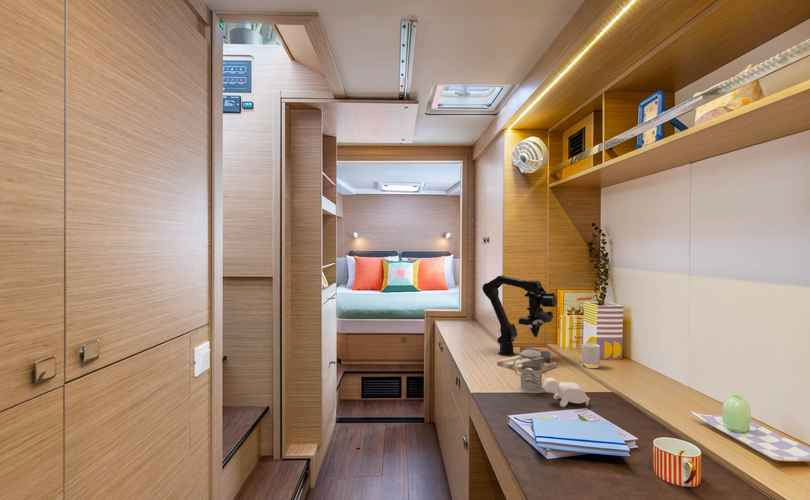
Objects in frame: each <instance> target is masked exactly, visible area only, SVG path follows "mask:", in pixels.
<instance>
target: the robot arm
mask: <svg viewBox="0 0 810 500" xmlns="http://www.w3.org/2000/svg"><path fill="white" fill-rule="evenodd" d="M503 284H504V285H508V286H510V287H511V286H512V287H516V288H520V289H523V290H524V291H526V293H525V294H524V295H523V296H524V297H527V298H528V307H526V310H527V311H528V315H527V316H526V317H519V318H518V324H519V325H524V326H528V325H532V328H529V330H530V332H531V333H532V335H533V337H534V338H537V337H538V335H539V333H540V332H539V331H540V328H541V327H542V326H543V325H545V324H546V323H547V324H548V323H550V322H552V319H554V313H553V311H544V308H543V307H545V308H546V307H547V308H556V307H557V305H558V299H557V296H556V293H554V292H550V293H549V292H547V291H546V290H545V288H544V287H543V286H542V283H541V281H540V280H534V279H533V280H531V279H530V280H529V279H528V280H524V279H519V278H515V277H511V276H505V275H498V276H496V277H495V278H494V279H492V280H490V281H488V282H485V283H483V285H482V288H481V289H482V291H483V293H484V295H485V297H487V298H488V300H490V301H489V302H490V303H491V306H492V307H493V311H494V313H495V315H496V318H497V320H498V323H499V327H500V330H499V331H500V336H499V337H498V338H497V339H496V340H497V343H498V344H499V352H497V354H498V355H502V356H506V357H508V356H512V355H516V353H515V352H514V343H513V342H514V341H515V339H516V338H517V336H518V329H517V328H516V325H515V323H510V321H509V319H508V317H507V314H506V312H505V309H504V307H503V304H502V302H501V299H500V297H499V292H500V291H499V288H500V287H501V286H503Z"/></svg>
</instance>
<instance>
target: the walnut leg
mask: <svg viewBox="0 0 810 500" xmlns="http://www.w3.org/2000/svg"><path fill="white" fill-rule="evenodd" d="M528 349H530V347H528V346H520V347H519V355H520V356H522V355H521V354H520V352H522V351H524V350H528ZM531 349H532V350H536V351H538V352H540V353H541V356H540V357H544V362H551V351H545V350H542V349H538V348H537V349H536V348H532V347H531ZM524 357H525V356H524ZM528 358H532V359H533V358H537V357H528Z"/></svg>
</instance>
